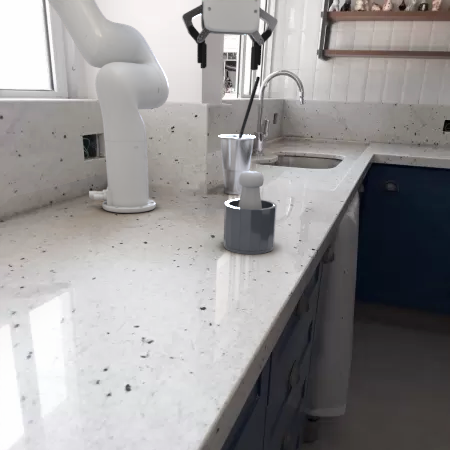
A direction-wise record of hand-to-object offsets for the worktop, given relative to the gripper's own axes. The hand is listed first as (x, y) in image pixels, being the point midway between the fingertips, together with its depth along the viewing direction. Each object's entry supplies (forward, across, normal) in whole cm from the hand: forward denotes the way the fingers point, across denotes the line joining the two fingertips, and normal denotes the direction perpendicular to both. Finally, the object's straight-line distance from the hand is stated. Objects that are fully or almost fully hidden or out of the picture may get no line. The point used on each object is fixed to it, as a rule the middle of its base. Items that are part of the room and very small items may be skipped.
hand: (229, 68), depth 90 cm
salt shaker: (+30, -2, +14) cm, 33 cm away
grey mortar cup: (+30, -2, +14) cm, 33 cm away
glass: (+31, -10, -37) cm, 49 cm away
